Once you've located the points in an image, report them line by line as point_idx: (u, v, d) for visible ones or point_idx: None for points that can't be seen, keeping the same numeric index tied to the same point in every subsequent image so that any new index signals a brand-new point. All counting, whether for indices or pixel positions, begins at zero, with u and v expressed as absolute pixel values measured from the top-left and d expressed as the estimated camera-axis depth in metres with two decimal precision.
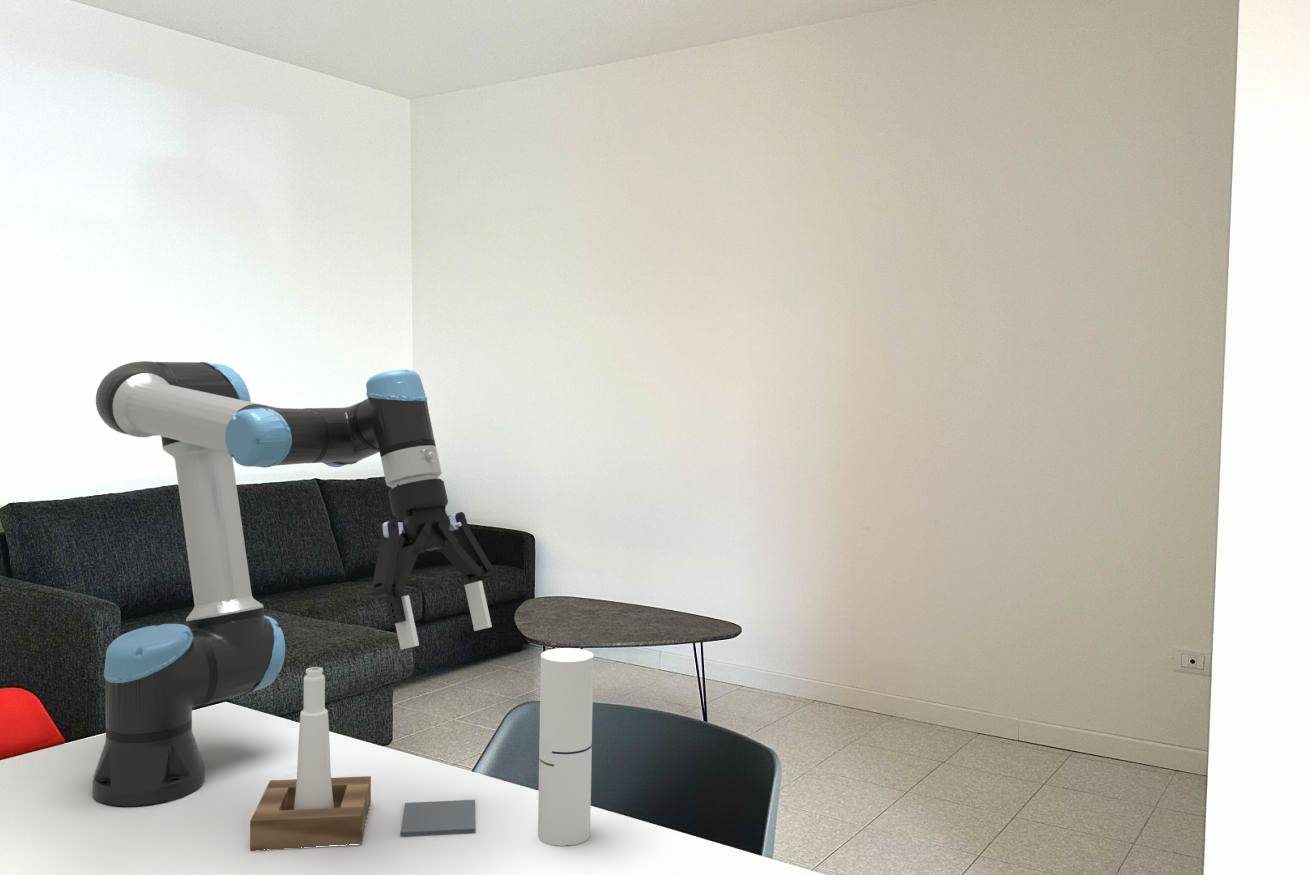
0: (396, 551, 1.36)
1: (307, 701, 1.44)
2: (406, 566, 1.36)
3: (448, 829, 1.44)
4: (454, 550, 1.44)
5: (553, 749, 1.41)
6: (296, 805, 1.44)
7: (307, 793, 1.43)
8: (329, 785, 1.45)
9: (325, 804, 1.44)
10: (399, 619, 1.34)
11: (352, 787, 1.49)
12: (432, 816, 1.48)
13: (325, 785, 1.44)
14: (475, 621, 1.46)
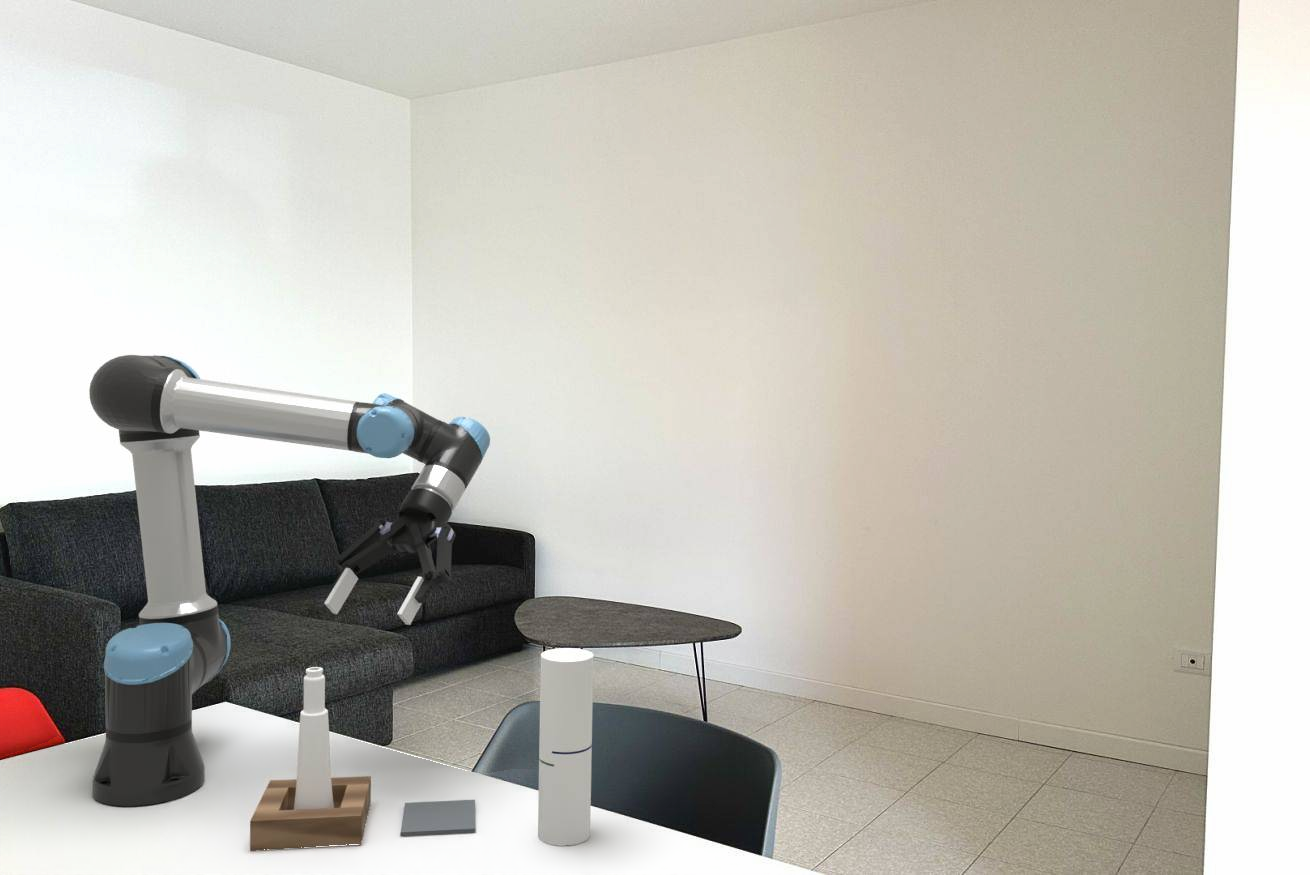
0: None
1: (307, 701, 1.44)
2: (432, 566, 1.58)
3: (448, 829, 1.44)
4: (387, 554, 1.62)
5: (553, 749, 1.41)
6: (296, 805, 1.44)
7: (307, 793, 1.43)
8: (329, 785, 1.45)
9: (325, 804, 1.44)
10: (425, 601, 1.53)
11: (352, 787, 1.49)
12: (432, 816, 1.48)
13: (325, 785, 1.44)
14: (334, 599, 1.57)
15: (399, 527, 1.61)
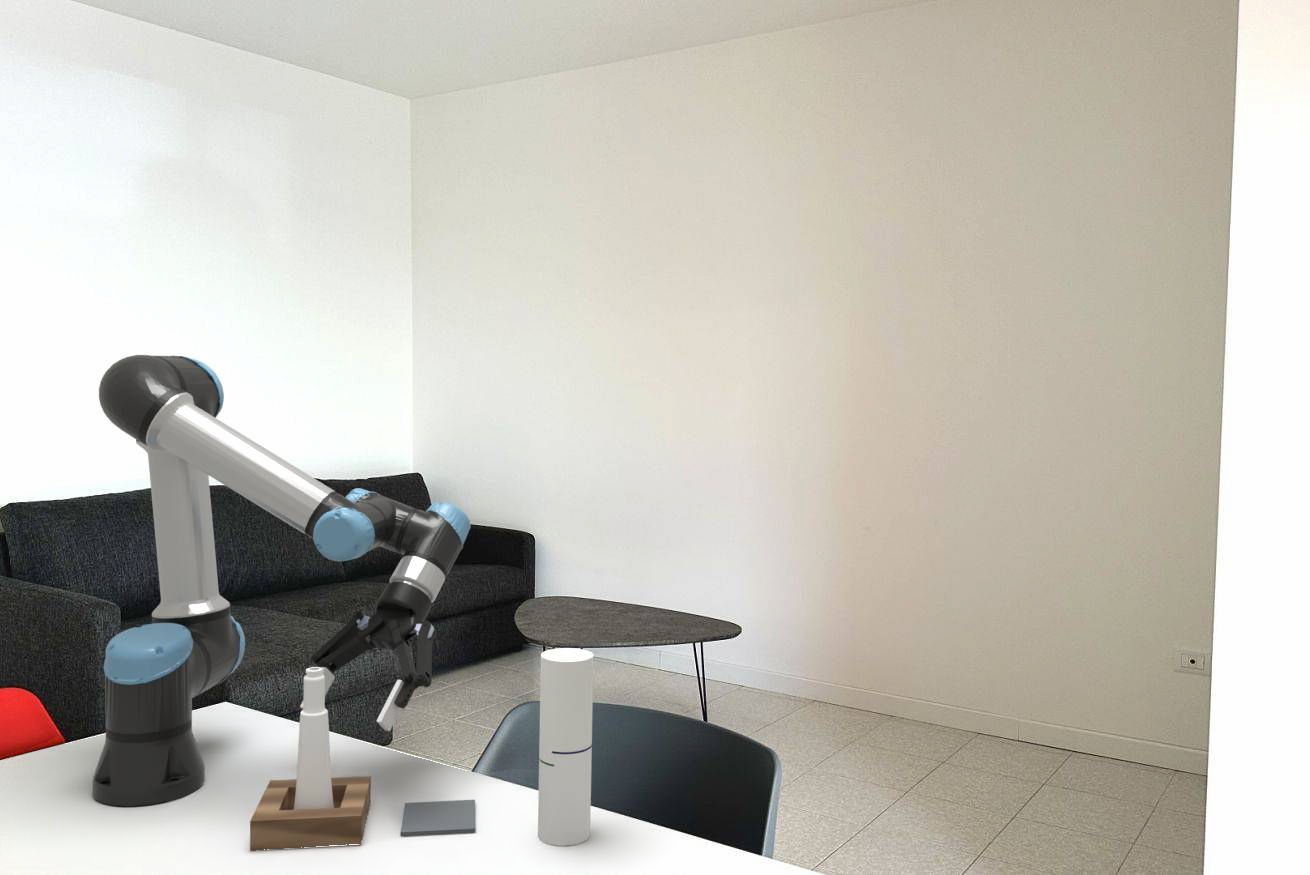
0: None
1: (307, 701, 1.44)
2: None
3: (448, 829, 1.44)
4: (365, 650, 1.57)
5: (553, 749, 1.41)
6: (296, 805, 1.44)
7: (307, 793, 1.43)
8: (329, 785, 1.45)
9: (325, 804, 1.44)
10: (405, 706, 1.48)
11: (352, 787, 1.49)
12: (432, 816, 1.48)
13: (325, 785, 1.44)
14: None
15: (377, 623, 1.56)
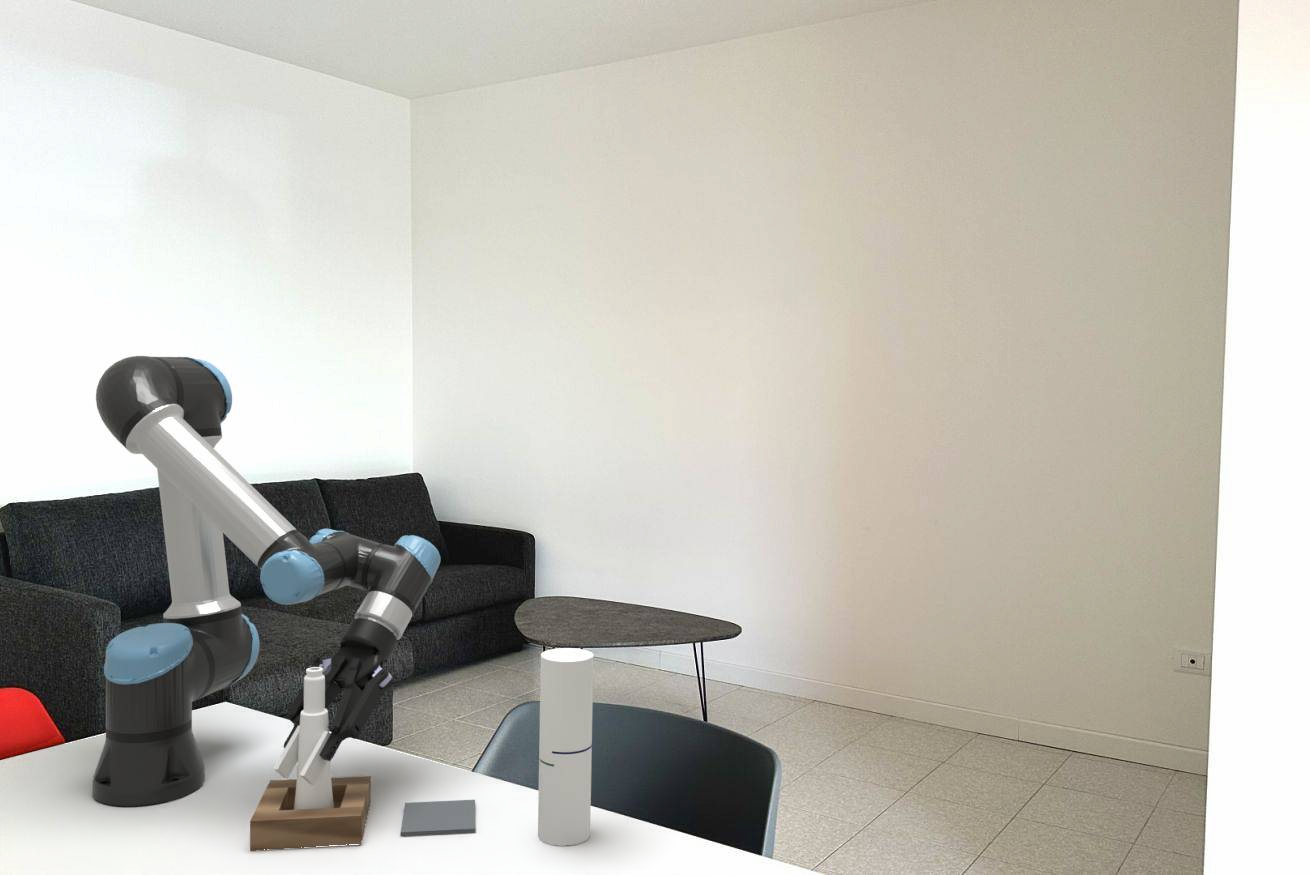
0: None
1: (307, 701, 1.44)
2: None
3: (448, 829, 1.44)
4: (335, 695, 1.51)
5: (553, 749, 1.41)
6: (296, 805, 1.44)
7: (307, 793, 1.43)
8: (329, 785, 1.45)
9: (325, 804, 1.44)
10: (331, 758, 1.43)
11: (352, 787, 1.49)
12: (432, 816, 1.48)
13: (325, 785, 1.44)
14: (284, 763, 1.43)
15: (341, 661, 1.51)
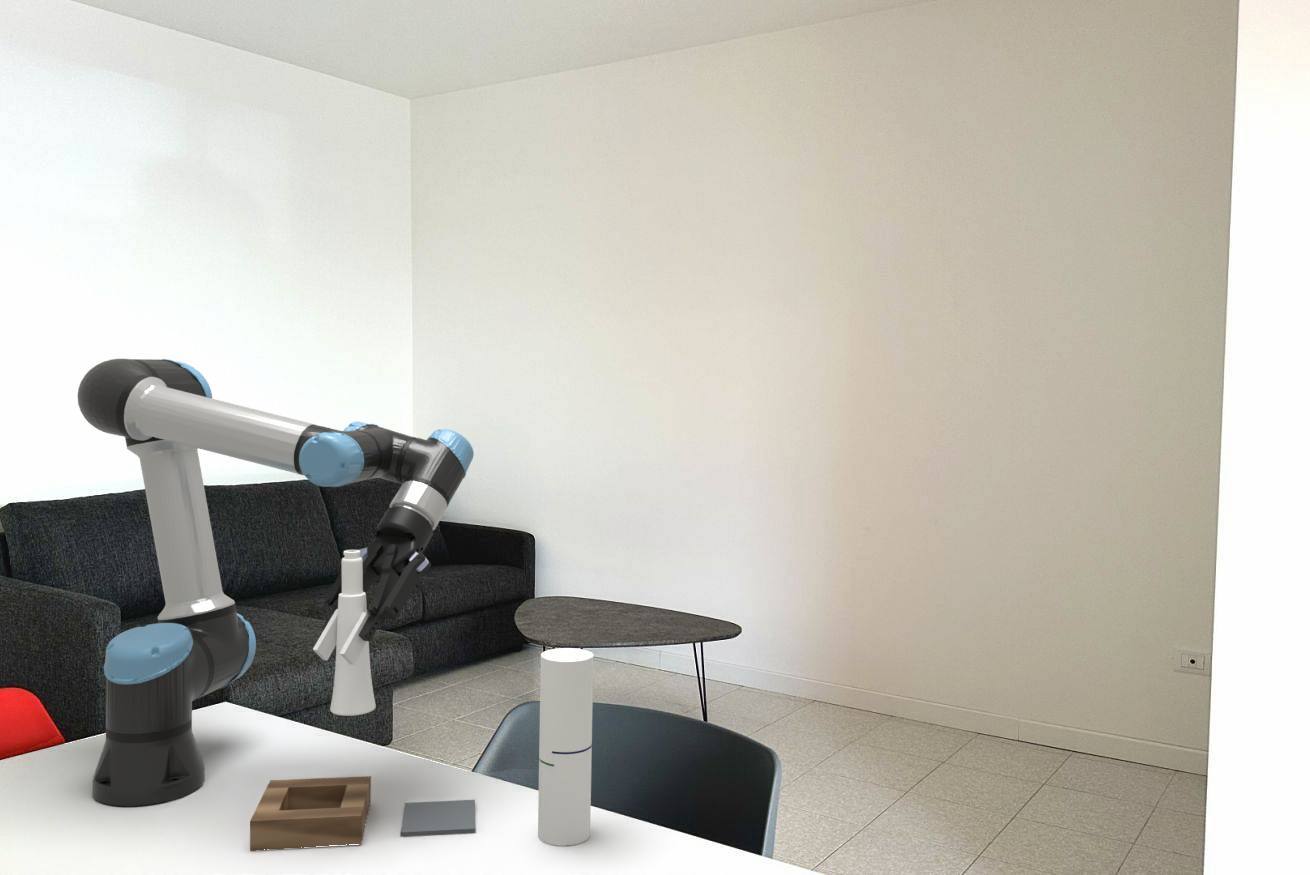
0: None
1: (345, 582, 1.43)
2: None
3: (448, 829, 1.44)
4: (372, 582, 1.51)
5: (553, 749, 1.41)
6: (335, 687, 1.44)
7: (346, 674, 1.43)
8: (368, 668, 1.45)
9: (364, 686, 1.44)
10: (370, 639, 1.43)
11: (352, 787, 1.49)
12: (432, 816, 1.48)
13: (364, 667, 1.44)
14: (323, 644, 1.43)
15: (378, 548, 1.51)
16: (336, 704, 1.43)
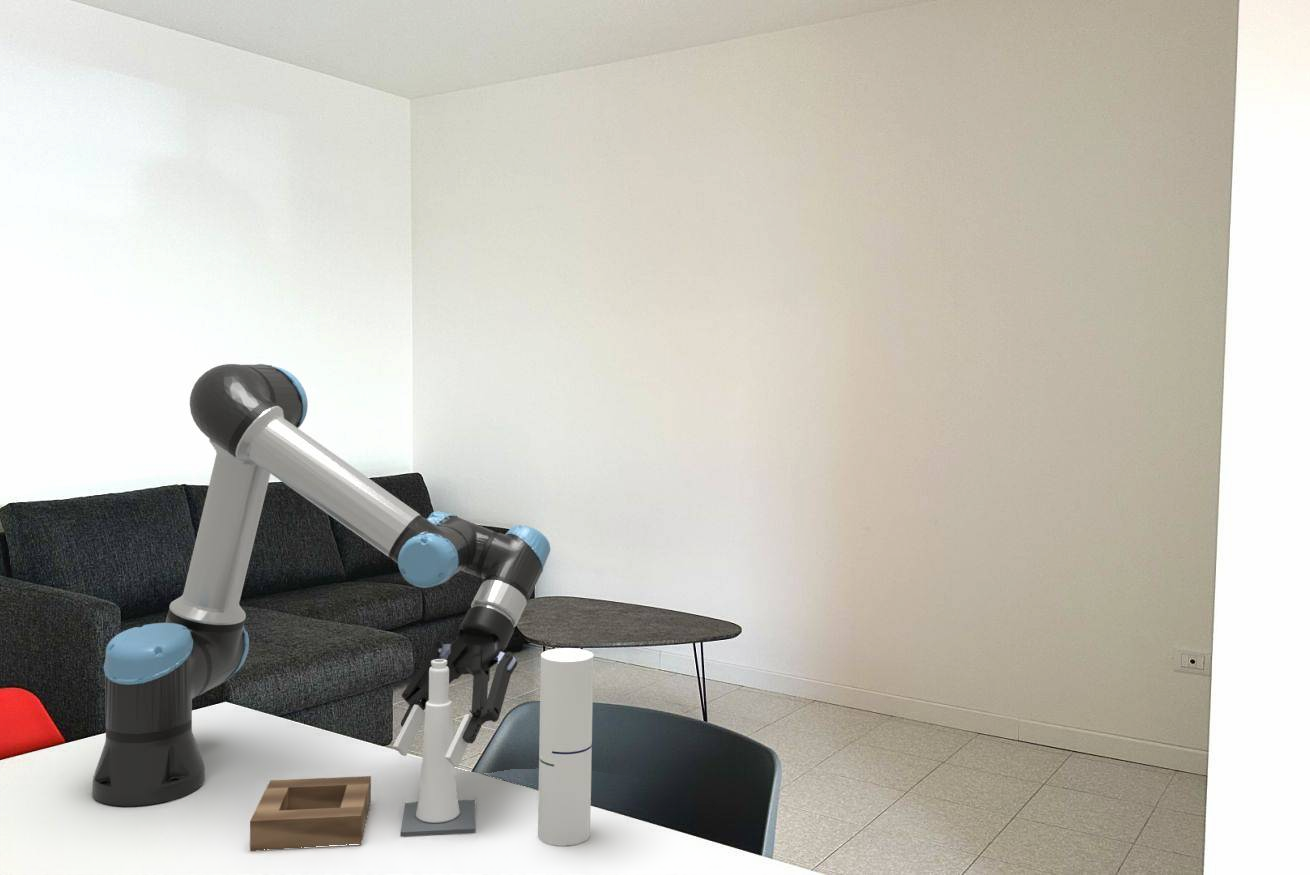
0: None
1: (433, 692, 1.47)
2: None
3: (448, 829, 1.44)
4: (452, 680, 1.54)
5: (553, 749, 1.41)
6: (422, 794, 1.47)
7: (433, 782, 1.46)
8: (453, 775, 1.48)
9: (450, 793, 1.47)
10: (473, 741, 1.45)
11: (352, 787, 1.49)
12: None
13: (450, 774, 1.47)
14: (403, 740, 1.47)
15: (461, 648, 1.54)
16: (423, 811, 1.47)
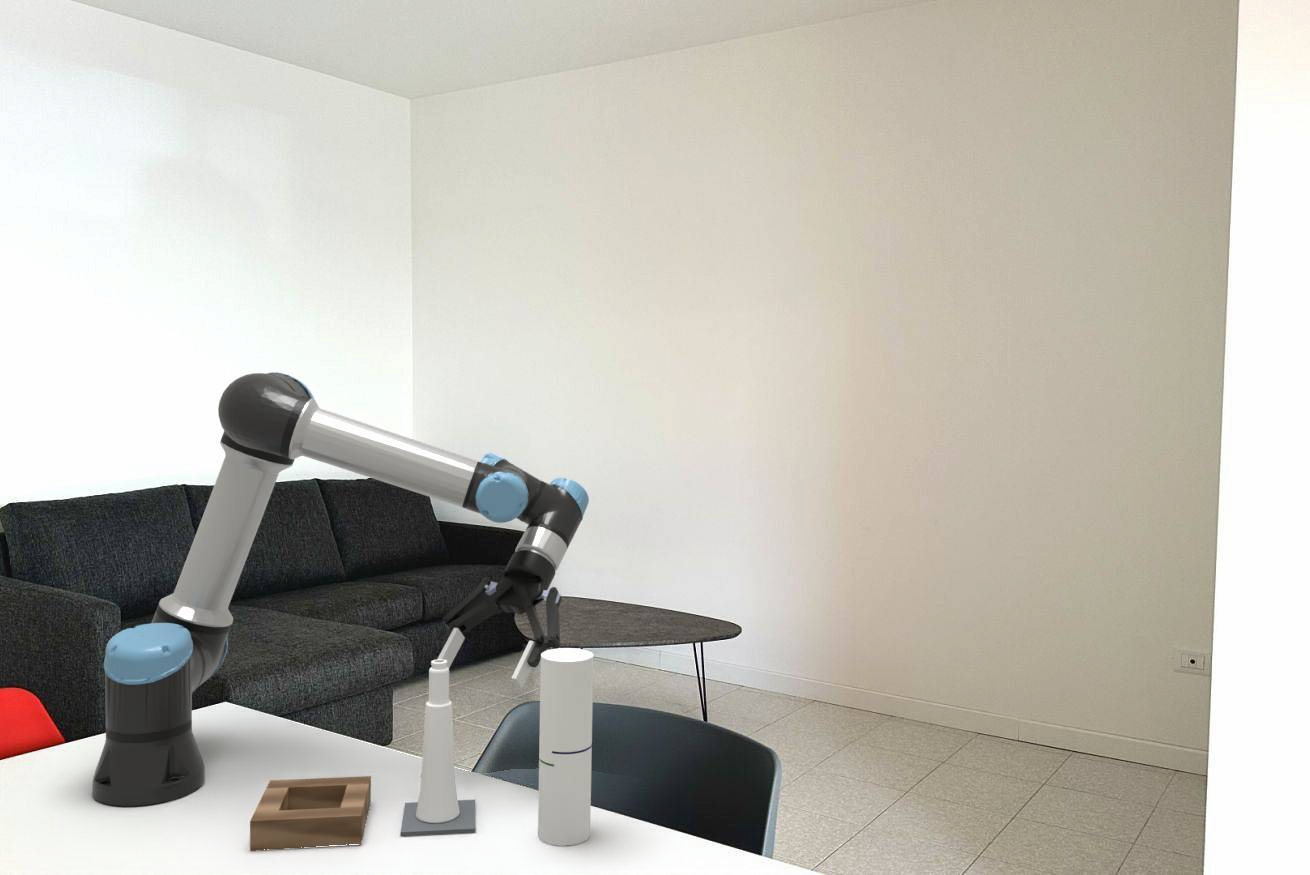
0: None
1: (433, 692, 1.47)
2: (540, 628, 1.62)
3: (448, 829, 1.44)
4: (492, 614, 1.66)
5: (553, 749, 1.41)
6: (422, 794, 1.47)
7: (433, 783, 1.46)
8: (453, 775, 1.48)
9: (450, 793, 1.47)
10: (536, 665, 1.56)
11: (352, 787, 1.49)
12: None
13: (450, 775, 1.47)
14: (444, 659, 1.60)
15: (506, 588, 1.65)
16: (423, 811, 1.47)
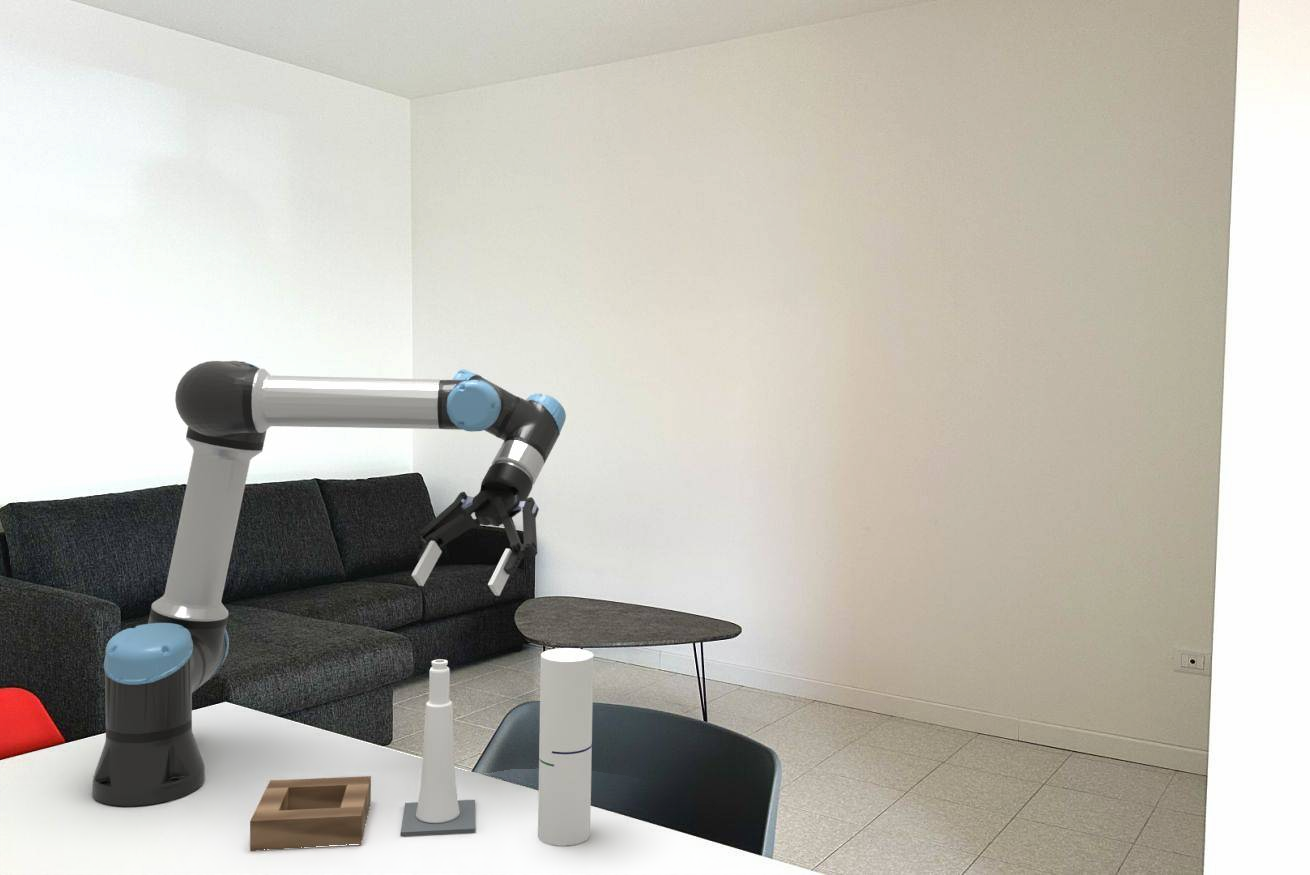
0: None
1: (433, 692, 1.47)
2: (517, 538, 1.60)
3: (448, 829, 1.44)
4: (469, 527, 1.64)
5: (553, 749, 1.41)
6: (422, 794, 1.47)
7: (433, 783, 1.46)
8: (453, 775, 1.48)
9: (450, 793, 1.47)
10: (513, 572, 1.55)
11: (352, 787, 1.49)
12: None
13: (450, 775, 1.47)
14: (420, 571, 1.58)
15: (482, 501, 1.63)
16: (423, 811, 1.47)
